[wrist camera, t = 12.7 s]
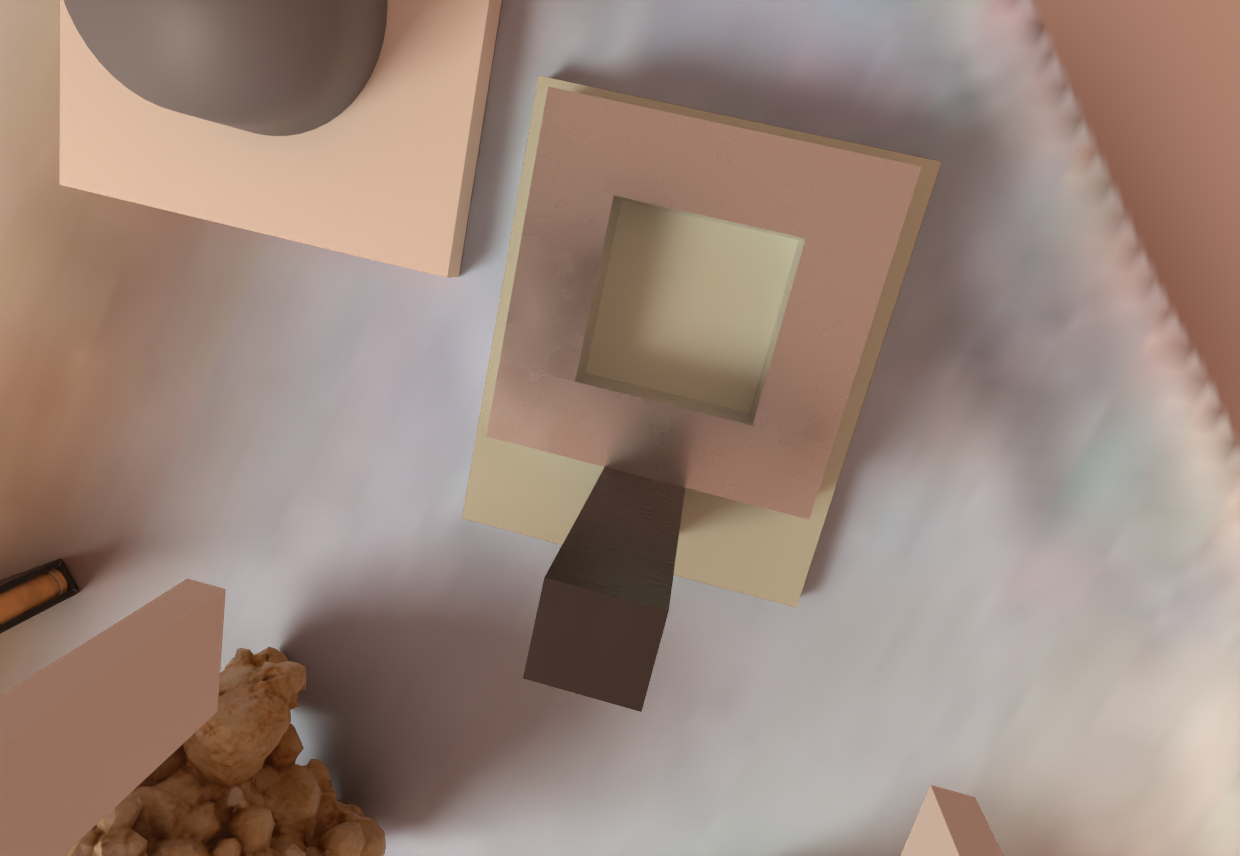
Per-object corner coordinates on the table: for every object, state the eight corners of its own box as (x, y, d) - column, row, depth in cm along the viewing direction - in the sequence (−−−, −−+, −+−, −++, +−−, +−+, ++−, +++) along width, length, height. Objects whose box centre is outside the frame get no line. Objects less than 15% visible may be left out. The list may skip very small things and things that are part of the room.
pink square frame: (561, 100, 24) (439, -27, 13) (904, 174, 23) (1063, 101, 12) (490, 489, 28) (352, 629, 17) (782, 565, 27) (824, 763, 16)
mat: (544, 81, 25) (538, 75, 24) (934, 164, 24) (941, 161, 23) (468, 511, 29) (462, 518, 28) (794, 598, 28) (796, 607, 27)
